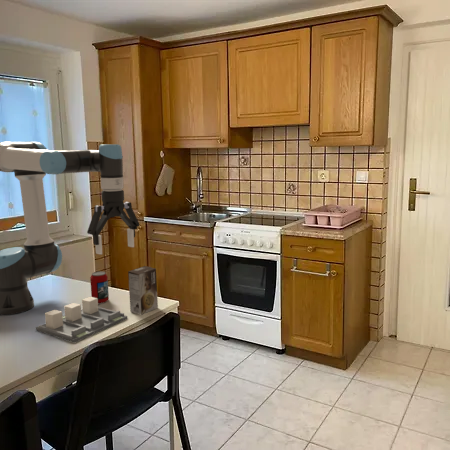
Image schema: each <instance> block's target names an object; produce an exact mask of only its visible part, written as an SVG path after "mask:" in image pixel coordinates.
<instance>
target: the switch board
mask: <svg viewBox="0 0 450 450" xmlns="http://www.w3.org/2000/svg"><path fill="white" fill-rule="evenodd" d="M62 316H63V315H62ZM81 316H82V318H80V319H78V320H75V321H73V322H72V321H69V320H66V319H65V315H64V316H63V326H60V327H58V328H56V329H51V328H48V327H46V323H43V324H40V325H38V326H36V327H35V331H37V332H40V333H43V334H47V335H49V336H53V337H55V338H58V339H61V340H65V341H67V342H71V343H73V344H75V343H77V342H80V341H82V340H84V339H86V338H88V337H90V336H93V335H95V334H97V333H100V332H101V331H104V330H105V329H106V330H107V329H108V328H111V327H112V326H115V325H117V324H119V323H121V322H124V321H126V320H127V319H128V316H127V315H125V312H122V311H120V310H112V309H109V308H108V309H107V308H104V307H101V306H98V311H97V312H95V313H92V314H87V313H83V308H81Z"/></svg>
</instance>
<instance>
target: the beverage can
mask: <svg viewBox="0 0 450 450" xmlns="http://www.w3.org/2000/svg"><path fill="white" fill-rule="evenodd" d="M89 279H90V281H89V282H90V294H91V296H90V297H94V298H98V305H100V304H105V303H106V302H107V301H109V298H110V296H109V280H108V279H109V278H108V274H107V273H106V271H101V270H100V271H94V272H92V273H91V276H90V277H89Z"/></svg>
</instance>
